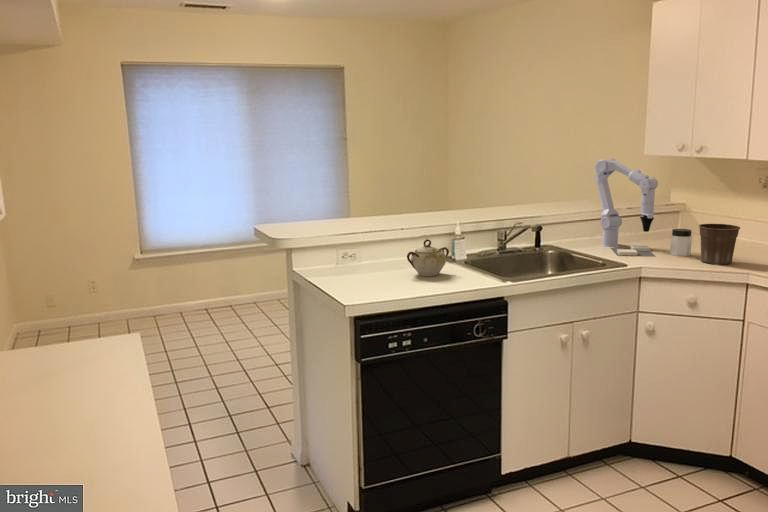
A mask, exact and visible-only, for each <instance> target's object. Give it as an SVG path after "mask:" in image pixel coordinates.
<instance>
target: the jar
mask: <svg viewBox="0 0 768 512" xmlns="http://www.w3.org/2000/svg"><path fill="white" fill-rule="evenodd" d="M692 242H693V236H692V229H688V228H673V229H672V231H671V235H670V244H669V245H670V247H669V255H672V256H677V257H680V256H681V257H687V256H691V255H692V254H691V253H692V244H693V243H692Z"/></svg>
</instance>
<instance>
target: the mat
mask: <svg viewBox="0 0 768 512" xmlns="http://www.w3.org/2000/svg"><path fill="white" fill-rule="evenodd" d="M610 249H611V251H613V253H614V254H615V255H616V256H617V257H629V256H628V255H619V254H618V253H617V249H629V250H631V249H630V247H610ZM637 252H638V256H637V257H644V258H645V257H646V258H647V257H651V258H653V257H655V258H657V256H656V254H654V253H653V252H651V250H650V251H637Z"/></svg>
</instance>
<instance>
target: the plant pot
mask: <svg viewBox="0 0 768 512" xmlns="http://www.w3.org/2000/svg"><path fill="white" fill-rule="evenodd" d="M698 228H699V235H700V261H701V262H702V263H707V264H708V263H709V264H710V265H714V264H726V265H731V264H732V263H733V257H734V252H735V247H736V242H737V238H738V235H739V231H740V229H741V226H739V225H736V224H735V225H734V224H727V223H702V224H698ZM709 264H708V265H709Z"/></svg>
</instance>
